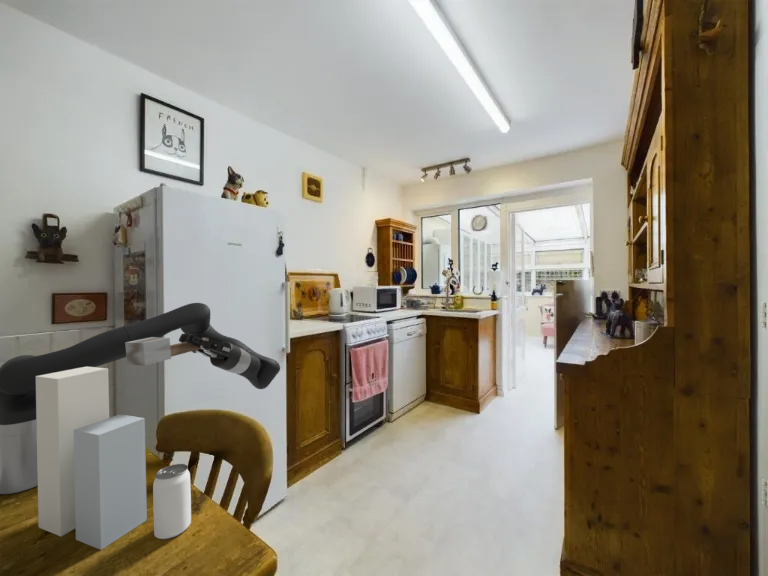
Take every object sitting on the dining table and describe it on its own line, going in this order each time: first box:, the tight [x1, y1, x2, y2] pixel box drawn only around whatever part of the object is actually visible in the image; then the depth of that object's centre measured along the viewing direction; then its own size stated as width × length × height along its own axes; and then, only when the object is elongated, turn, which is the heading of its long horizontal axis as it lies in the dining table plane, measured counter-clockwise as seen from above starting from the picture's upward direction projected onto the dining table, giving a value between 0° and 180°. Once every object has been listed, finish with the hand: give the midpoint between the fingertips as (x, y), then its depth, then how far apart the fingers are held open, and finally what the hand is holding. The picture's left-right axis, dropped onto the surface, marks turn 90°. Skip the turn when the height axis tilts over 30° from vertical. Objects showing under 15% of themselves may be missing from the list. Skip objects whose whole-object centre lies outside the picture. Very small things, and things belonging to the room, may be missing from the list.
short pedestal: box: [74, 413, 148, 551], centre depth 68 cm, size 8×8×22 cm
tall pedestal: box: [36, 366, 110, 537], centre depth 72 cm, size 8×9×32 cm
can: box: [152, 463, 192, 540], centre depth 68 cm, size 6×6×12 cm
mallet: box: [125, 337, 209, 367], centre depth 81 cm, size 6×18×5 cm, turn 160°
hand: (184, 337), depth 84 cm, fingers closed on mallet
